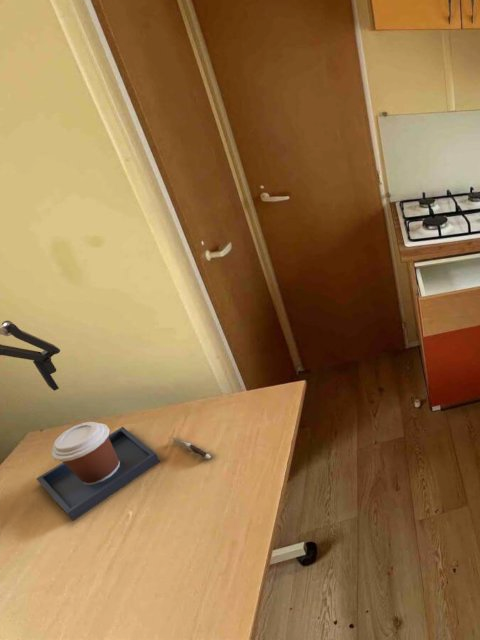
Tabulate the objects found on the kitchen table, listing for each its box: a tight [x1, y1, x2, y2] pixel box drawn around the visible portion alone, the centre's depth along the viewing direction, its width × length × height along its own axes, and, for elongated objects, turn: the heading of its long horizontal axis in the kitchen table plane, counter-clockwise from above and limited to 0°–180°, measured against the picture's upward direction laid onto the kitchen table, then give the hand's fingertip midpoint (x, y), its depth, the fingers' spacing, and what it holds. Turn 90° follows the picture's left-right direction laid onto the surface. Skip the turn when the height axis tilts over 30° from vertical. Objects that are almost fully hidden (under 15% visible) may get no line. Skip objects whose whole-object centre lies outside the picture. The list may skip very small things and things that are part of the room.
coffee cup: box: [50, 421, 120, 485], centre depth 92 cm, size 9×9×12 cm
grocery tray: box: [36, 426, 161, 522], centre depth 94 cm, size 16×16×3 cm
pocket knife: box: [172, 437, 211, 460], centre depth 100 cm, size 14×1×2 cm, turn 67°
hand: (6, 410), depth 80 cm, fingers open, 13 cm apart
